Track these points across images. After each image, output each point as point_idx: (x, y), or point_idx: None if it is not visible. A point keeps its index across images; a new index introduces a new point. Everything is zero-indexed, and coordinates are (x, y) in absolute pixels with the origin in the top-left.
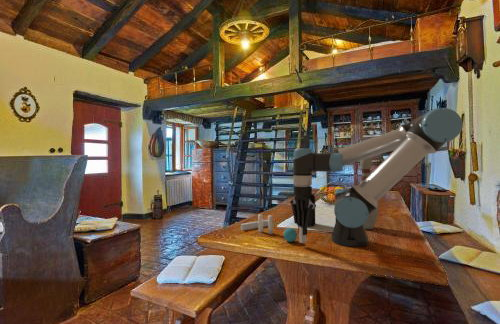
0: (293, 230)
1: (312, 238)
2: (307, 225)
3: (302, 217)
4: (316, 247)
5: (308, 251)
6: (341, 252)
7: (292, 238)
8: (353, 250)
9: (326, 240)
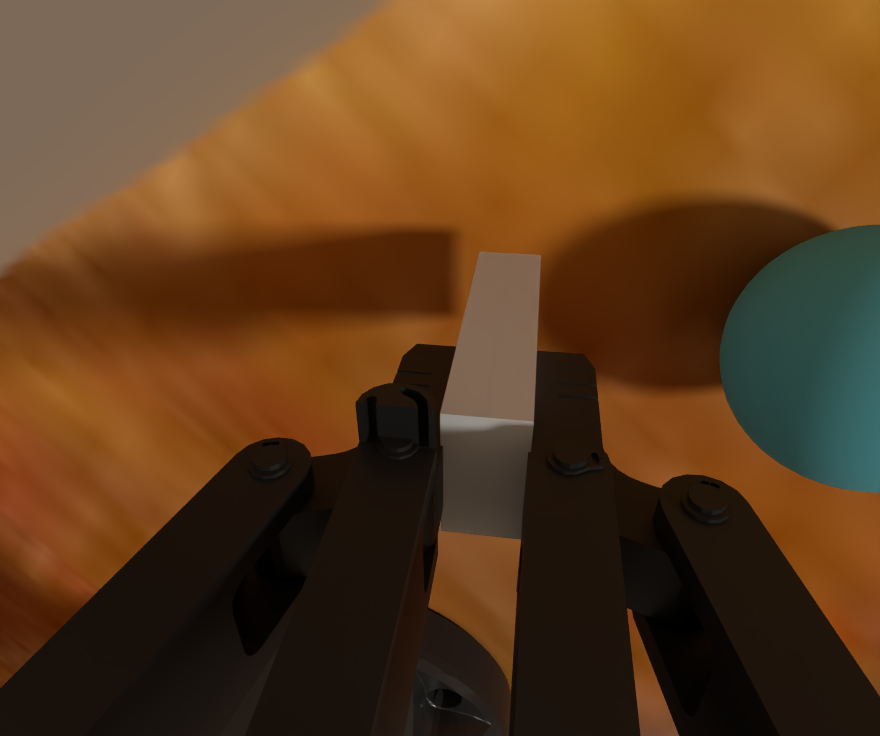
0: (806, 422)
1: None
2: (230, 473)
3: (346, 657)
4: (390, 382)
5: (328, 197)
6: (149, 444)
7: (742, 292)
8: None
9: (495, 599)
